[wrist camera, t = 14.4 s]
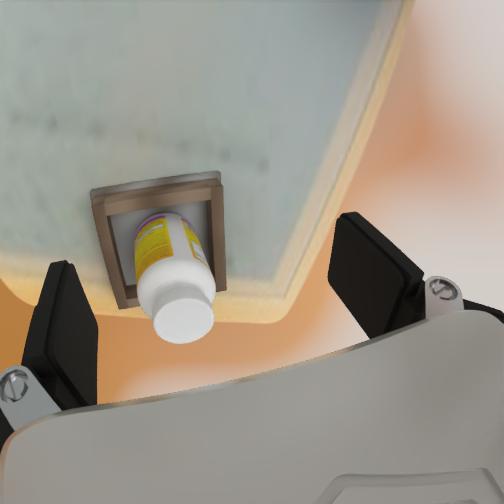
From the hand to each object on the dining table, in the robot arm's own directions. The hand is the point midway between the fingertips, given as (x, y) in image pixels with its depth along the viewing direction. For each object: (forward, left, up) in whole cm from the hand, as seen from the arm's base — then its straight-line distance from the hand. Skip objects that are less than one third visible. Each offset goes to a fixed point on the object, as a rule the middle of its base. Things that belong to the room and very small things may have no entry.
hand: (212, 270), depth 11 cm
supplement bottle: (+1, +11, -22) cm, 24 cm away
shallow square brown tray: (+1, +11, -23) cm, 25 cm away
